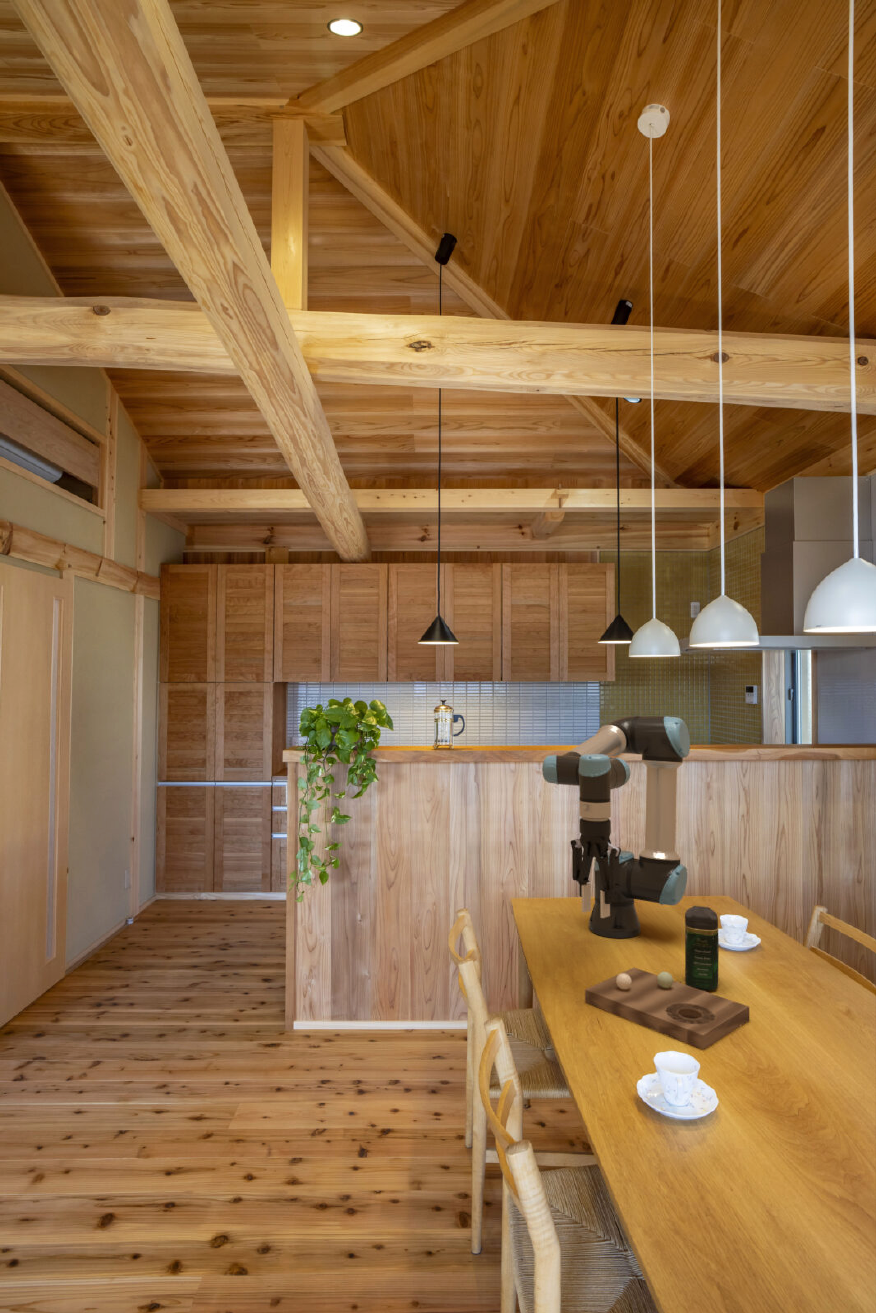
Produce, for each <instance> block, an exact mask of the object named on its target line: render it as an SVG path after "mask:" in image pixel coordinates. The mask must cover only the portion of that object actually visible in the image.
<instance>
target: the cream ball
mask: <svg viewBox="0 0 876 1313" xmlns="http://www.w3.org/2000/svg"><path fill="white" fill-rule="evenodd" d="M617 975H618V974H617ZM616 983H617V986H618V987H619V988H620V989H623V990H627V989H629V988H630V987H631V985H632V980H631V978H630V976H629V975H628V974H625V973H623V972H621V974H620V973H619V975H618V976H617V978H616Z"/></svg>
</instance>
